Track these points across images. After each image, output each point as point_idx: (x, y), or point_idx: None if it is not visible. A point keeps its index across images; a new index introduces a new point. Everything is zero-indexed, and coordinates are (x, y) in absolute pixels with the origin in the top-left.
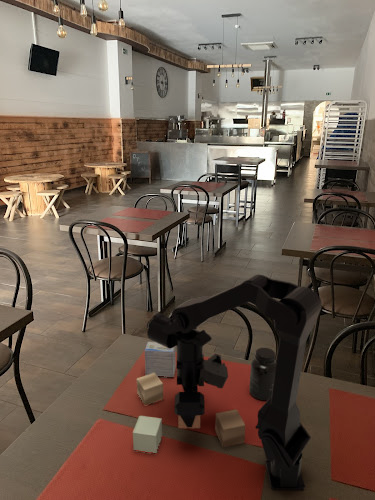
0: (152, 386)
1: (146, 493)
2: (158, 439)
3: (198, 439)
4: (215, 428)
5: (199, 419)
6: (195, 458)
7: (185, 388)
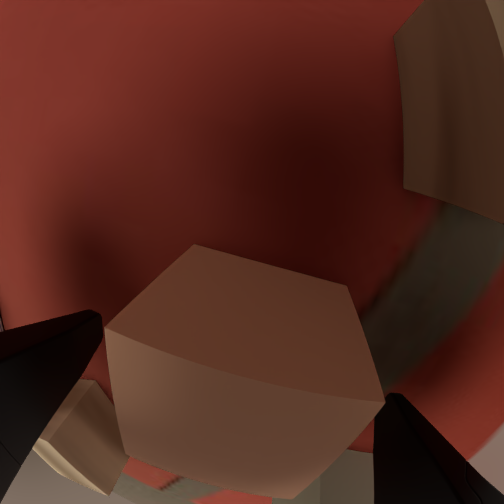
0: (81, 474)
1: (472, 454)
2: (369, 482)
3: (421, 317)
4: (413, 191)
5: (359, 334)
6: (491, 348)
7: (48, 404)
